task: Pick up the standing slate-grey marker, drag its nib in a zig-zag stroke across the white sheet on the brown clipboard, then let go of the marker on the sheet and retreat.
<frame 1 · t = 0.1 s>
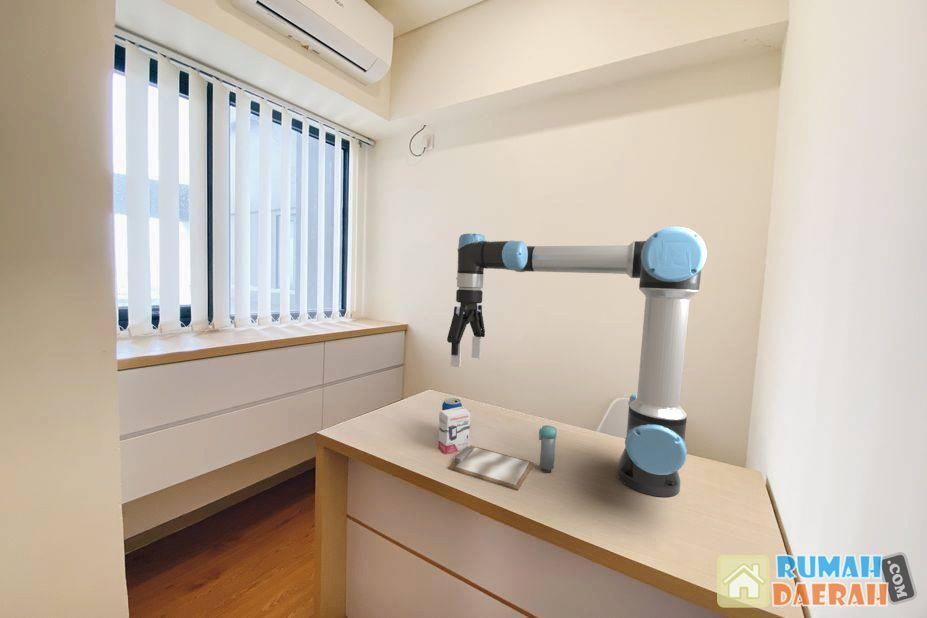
hand: (466, 362, 102), 28 cm above the table, fingers open, 13 cm apart
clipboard: (491, 466, 98), on the table
marker: (546, 470, 98), on the table
ink box: (453, 448, 108), on the table
beverage can: (450, 436, 117), on the table
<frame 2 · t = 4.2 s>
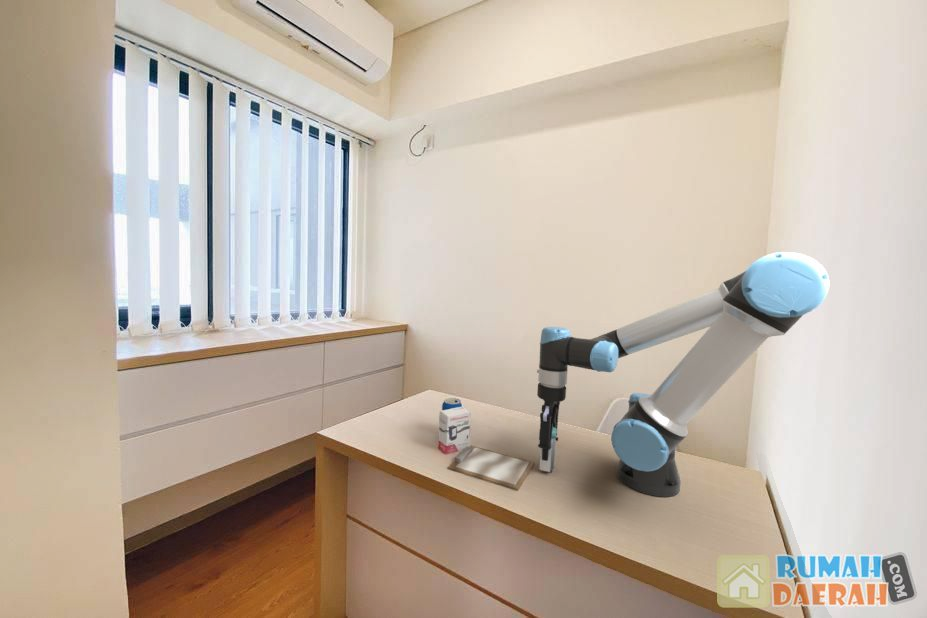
hand: (546, 466, 97), 1 cm above the table, fingers closed on marker, 4 cm apart
marker: (546, 470, 97), on the table, touching gripper
everything else where it was.
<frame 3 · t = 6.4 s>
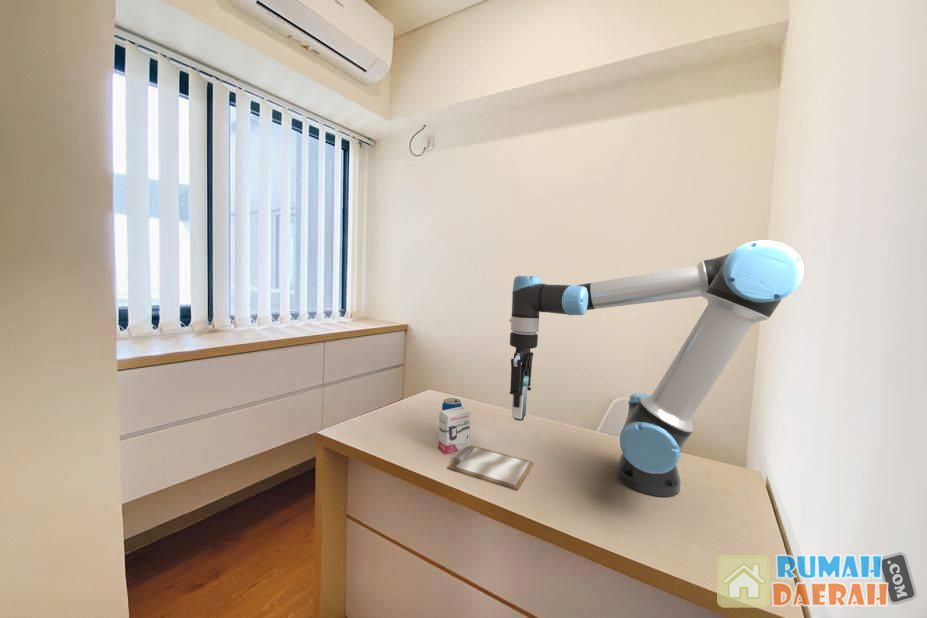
hand: (519, 415, 98), 15 cm above the table, fingers closed on marker, 4 cm apart
marker: (518, 418, 98), point 14 cm above the table, touching gripper
everything else where it was.
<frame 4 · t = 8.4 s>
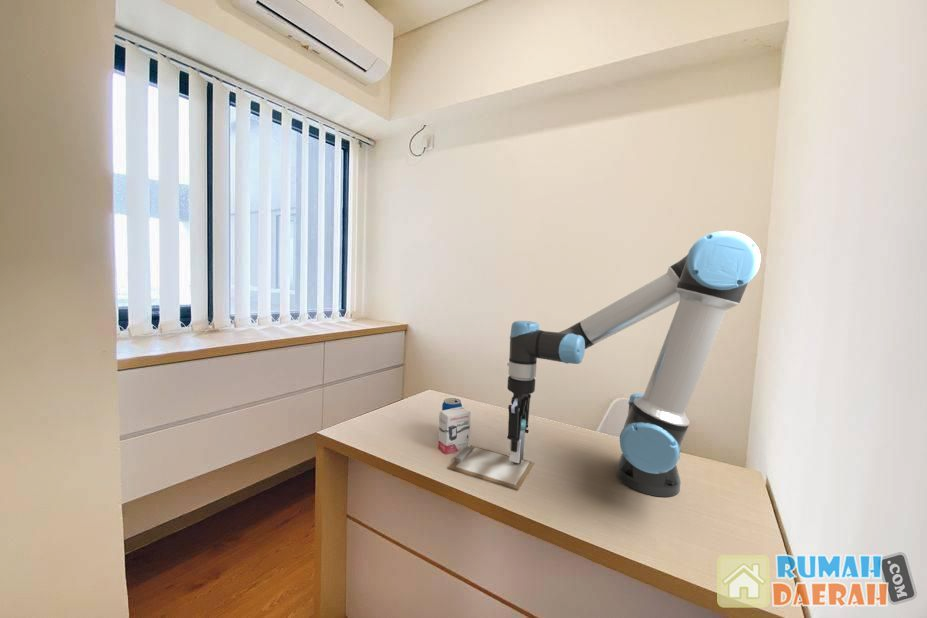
hand: (516, 457, 99), 2 cm above the table, fingers closed on marker, 4 cm apart
marker: (516, 461, 99), point 1 cm above the table, touching gripper
everything else where it was.
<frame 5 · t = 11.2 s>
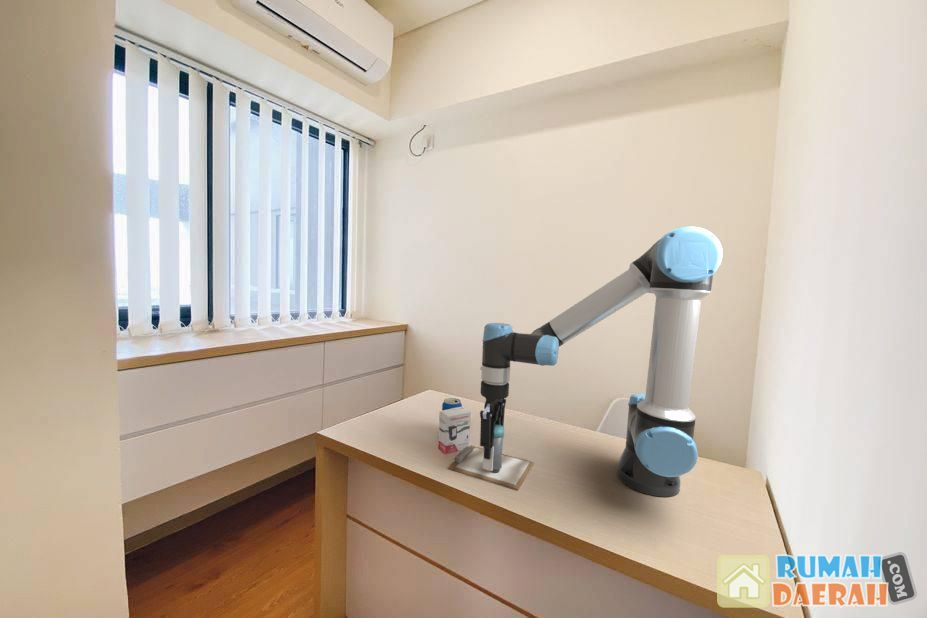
hand: (490, 465, 95), 2 cm above the table, fingers closed on marker, 4 cm apart
marker: (494, 470, 95), point 1 cm above the table, touching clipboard, gripper
everything else where it was.
when the fingers open (2 cm above the table, at t = 13.1 s): marker stays where it is, resting on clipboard.
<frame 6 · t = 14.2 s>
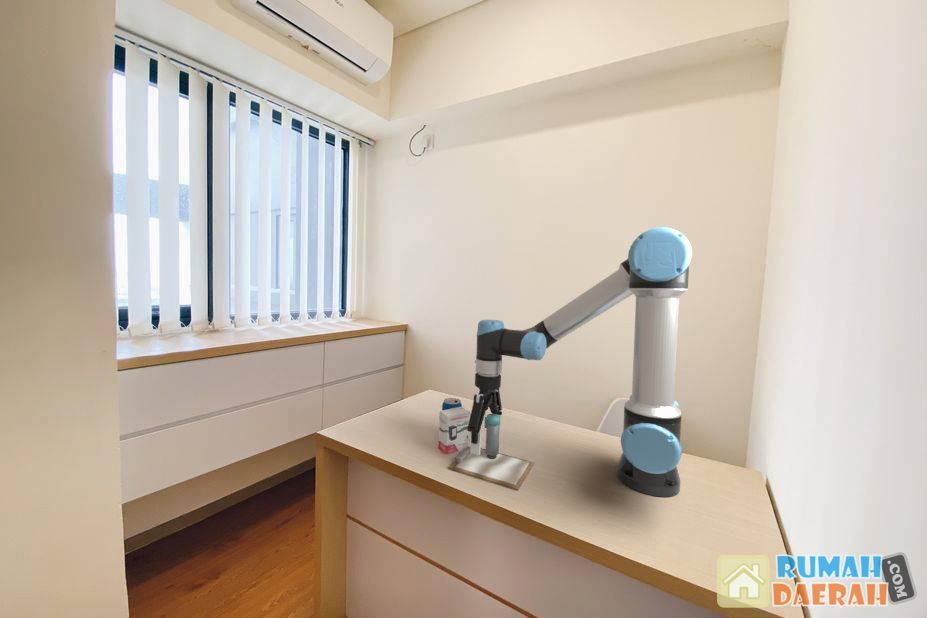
hand: (484, 444, 103), 4 cm above the table, fingers open, 13 cm apart
marker: (491, 456, 102), point 1 cm above the table, touching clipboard
everything else where it was.
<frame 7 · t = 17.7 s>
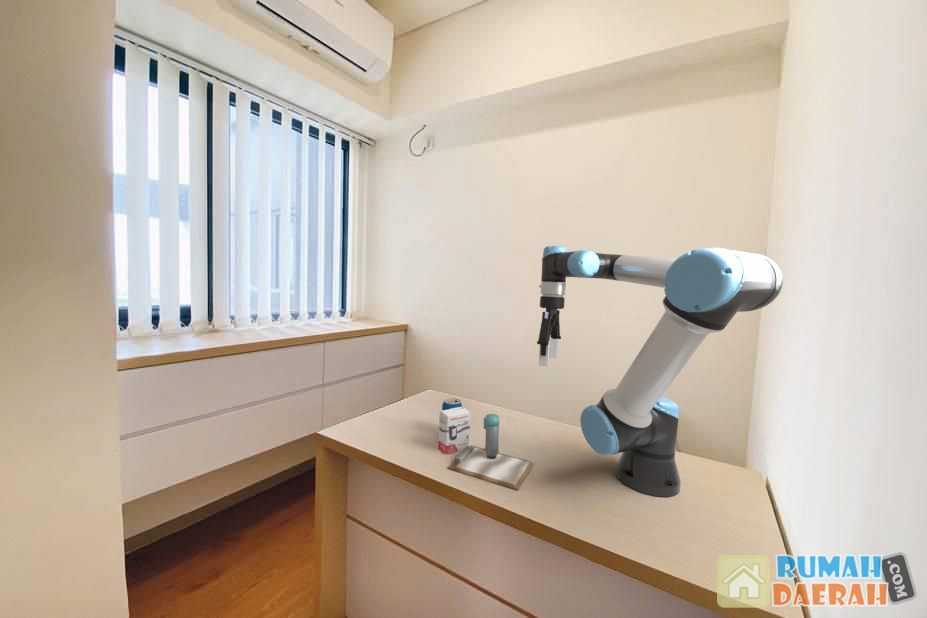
hand: (548, 361, 113), 27 cm above the table, fingers open, 13 cm apart
nothing on the table moved.
at the end: the gripper is holding nothing; marker moved 15.7 cm from its start; marker inside the target area on the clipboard (4.0 cm from its centre), point 0.8 cm above the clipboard's base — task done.
